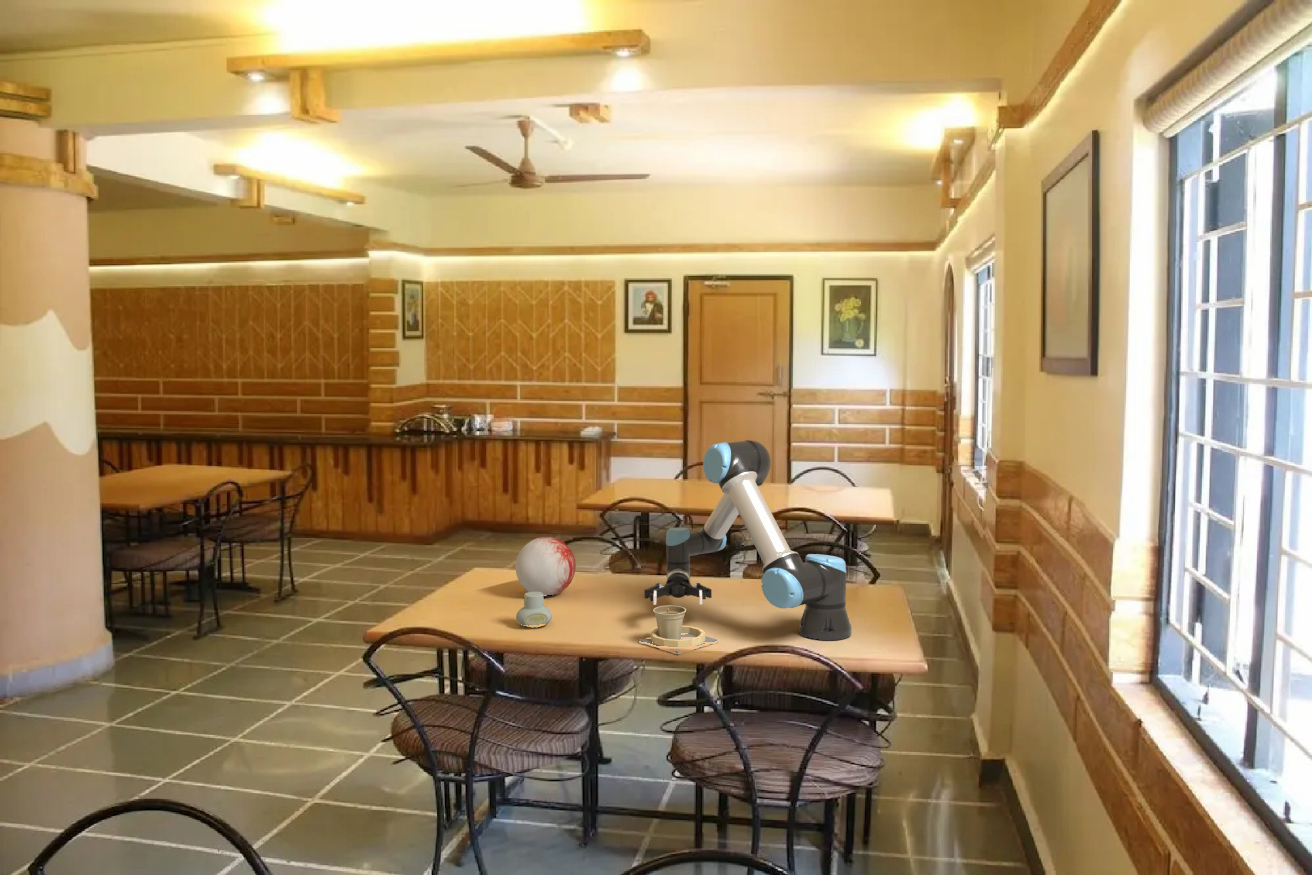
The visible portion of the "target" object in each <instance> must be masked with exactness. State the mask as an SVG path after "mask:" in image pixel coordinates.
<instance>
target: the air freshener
mask: <svg viewBox="0 0 1312 875" xmlns="http://www.w3.org/2000/svg"><path fill="white" fill-rule="evenodd" d="M544 597H545V596H543V593H542V592H528V591H527V592H525V593H524V594H523V599H524V600H523V606H522V607H521V608H519V610H518V611H517V612H516V615H515V616H516V617H515V619H516V621H517V623H518V624H519V625H521V624H522V625H528V626H529V625H539V624H547V625H548V624H550V623H551V621H552V619H553V612H552V610H550V608H549V607H547V606H545V603H544V602H545V601H544ZM522 625H521V626H522Z"/></svg>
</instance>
